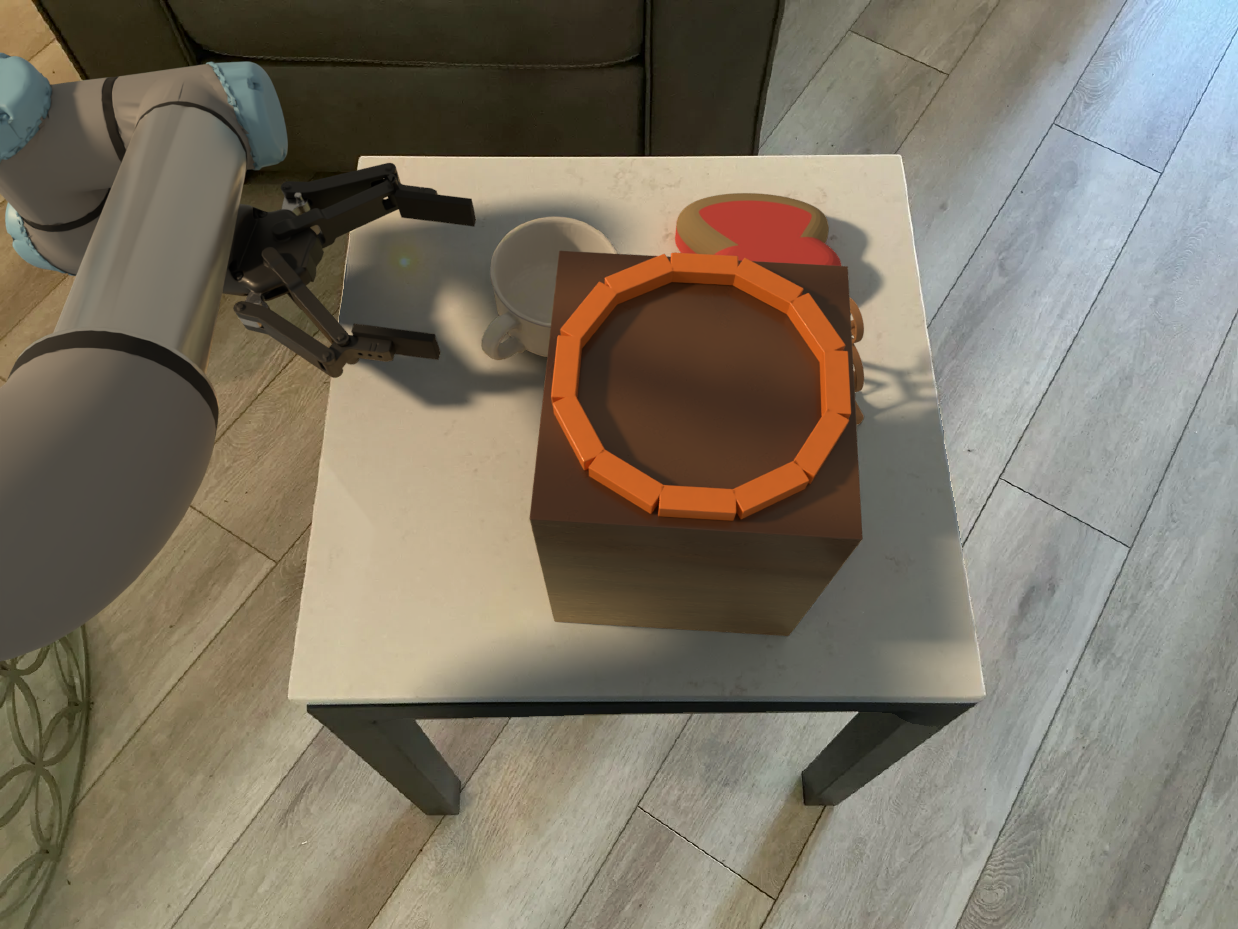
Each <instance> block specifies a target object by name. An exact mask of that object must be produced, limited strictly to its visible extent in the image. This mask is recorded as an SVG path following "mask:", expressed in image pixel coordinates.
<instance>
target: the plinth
mask: <svg viewBox="0 0 1238 929" xmlns="http://www.w3.org/2000/svg"><path fill="white" fill-rule="evenodd" d="M657 256H658V255H646V254H629V253H618V254H612V253H594V252H575V251H559V256H558V266H557V275H556V284H555V293H554V302H553V311H552V320H551V329H550V338H549V347H548V356H547V357H546V366H545V375H544V384H543V385H544V386H543V393H542V401H541V409H540V410H541V411H540V420H539V428H538V438H537V447H536V455H535V465H534V472H533V473H534V474H533V482H532V483H533V484H532V492H531V501H530V508H529V521H530V527H531V531H532V535H533V539H534V540H533V541H534V543H535V547H536V552H537V556H538V560H539V565H540V568H541V572H542V576H543V581H544V585H545V590H546V593H547V597H548V601H549V605H550V610H551V614H552V619H553V622H557V623H571V624H573V623H574V624H590V625H591V624H592V625H604V626H605V625H606V626H620V627H621V626H622V627H637V628H650V629H651V628H652V629H669V630H685V631H700V632H716V633H729V634H730V633H732V634H747V635H749V634H750V635H762V636H763V635H764V636H777V637H778V636H781V637H789V636H790V635H791V634H792V633H793V631H795V629H796V627H797V626H798V625H799V623H800V622H801V621H802V619H803V618H804V617H805V616H806V614H807V613H808V612H809V611H810V609H811V608H812V606H814V604H815V603H816V601H817V600H818V598H819V597H820V596H821V595H822V593H823V592H824V591H825V589H826V588H827V587H828V585H829V584H830V583H831V582H832V580H833V579H834V578H835V577H836V575H837V574H838V572H839V571H840V570H841V568H842V567H843V565H845V563H846V562H847V561H848V559H849V558H850V556H851V555H852V554H853V553H854V552H855V550H856V549H857V547H858V546H859V545H860V543H861V542H862V541H863V539H864V538H863V537H864V536H863V517H862V502H861V501H862V500H861V498H862V497H861V483H860V481H861V480H860V463H859V445H858V443H859V442H858V428H857V427H858V425H856V406H855V401H856V392H855V388H854V371H855V369H854V365H853V351H852V338H853V336H852V333H851V320H852V318H851V317H852V314H850V298H851V297H850V281H849V279H850V278H849V266H848V265H841V266H833V265H815V264H797V263H778V262H760V261H752V262H754V263H756V264H758V265H760V266H762V267H764V268H765V269H767V270H769V271H771V272H773V273H775V274H777V275H779V276H781V277H783V278H785V279H786V280H788V281H790V282H792V283H794V284H796V285H798V286H800V287H802V288H803V293H802V296H803V295H805V294H807V293H809V294H810V295H811V297H812V298H813V300H814V301H815V302H816V304H817V305H818V307H819V308H820V309H821V311H822V312H823V314H824V315H825V317H826V318H827V319H828V321H829V322H830V324H831V325H832V327H833V328H834V329H835V331H836V332H837V334H838V335H839V337H840V338H841V339H842V341H843V342H844V344H845V348H844V350H843V351H848V362H849V381H850V400H851V415H850V417H849V422H848V424H847V426H846V428H845V430H844V431H843V433H842V435H841V436H840V438H839V439H838V441H837V443H836V444H835V446H834V447H833V449H832V451H831V452H830V454H829V455H828V457H827V459H826V460H825V462H824V463H823V465H822V467H821V468H820V470H819V472H818V473H817V475H816V476H815V478H814V480H813V481H812V483H811V484H809V483H808V484H807V486H806V488H805V489H804V490H802V491H800V492H798V493H795V494H793V495H791V496H789V497H787V498H785V499H783V500H781V501H779V502H777V503H775V504H772V505H770V506H768V507H766V508H764V509H762V510H760V511H758V512H756V513H754V514H752V515H749V516H747V517H745V518H743V519H740V518H739V516H738V514H737V512H736V515H735V518H734V520H733V521H728V520H712V519H695V518H678V517H662V516H658V507H659V504H658V505H657V507H656V508H655V510H654V511H653V512H652V514H650V513H648V512H647V511H645V510H643V509H642V508H640V507H639V506H637V505H635V504H634V503H632V502H630V501H629V500H627V499H626V498H624V497H622V496H621V495H619V494H618V493H616V492H614V491H613V490H611V489H609V488H608V487H606V486H605V485H603V484H601V483H600V482H598V481H596V480H595V479H593V478H592V477H590V476H589V469H587V470H584V469H583V468H582V466H581V464H580V462H579V460H578V458H577V456H576V454H575V452H574V450H573V449H572V447H571V445H570V443H569V441H568V439H567V437H566V435H565V433H564V431H563V430H562V428H561V426H560V424H559V422H558V420H557V418H556V416H555V414H554V411H553V405H552V399H551V392H552V383H553V373H554V364H555V355H556V345H557V337H558V335H561V332H560V329H561V328H562V327H563V325H564V324H565V323H566V322H567V320H568V319H569V318H570V317H571V316H572V314H573V313H574V312H575V311H576V309H577V308H578V307H579V306H580V304H581V303H582V302H583V301H584V300H585V298H586V297H587V296H588V295H589V293H590V292H591V291H592V290H593V289H594V287H595V286H596V285H597V284H598V282H601V283H603V284H605V277H608V276H610V275H613V274H615V273H618V272H620V271H622V270H625V269H627V268H630V267H632V266H635V265H637V264H640V263H642V262H645V261H647V260H650V259H652V258H655V257H657ZM666 256H667V255H666ZM667 258H668V260H669V261H670V258H671V256H667ZM741 262H742V261H741V260H738V266H739V265H740V263H741ZM577 399H578V401H579V402H580V404H581V406H582V408H583V410H584V412H585V413H586V415H587V417H588V419H589V421H590V423H591V425H592V426H593V428H594V430H595V432H596V434H597V436H598V437H599V439H600V441H601V443H602V445H603V447H604V448H605V450H606V451H608V452H610V453H611V454H613V455H615V456H616V457H618V458H620V459H621V460H623V461H625V462H626V463H628V464H630V465H631V466H633V467H635V468H636V469H638V470H640V471H641V472H643V473H645V474H646V475H648V476H649V477H651V478H653V479H654V480H656V481H658V482H659V483H661V484H663V485H671V486H688V487H705V488H722V489H735V488H737V487H739V486H741V485H743V484H745V483H747V482H749V481H752V480H754V479H756V478H758V477H760V476H762V475H764V474H766V473H769V472H771V471H773V470H775V469H777V468H779V467H781V466H784V465H786V464H788V463H790V462H792V461H794V459H795V458H796V456H797V454H798V453H799V451H800V450H801V448H802V447H803V445H804V444H805V442H806V440H807V439H808V437H809V436H810V434H811V433H812V431H813V430H814V428H815V426H816V425H817V423H818V422H819V420H820V419H821V417H822V413H821V386H820V362H819V361H818V359H817V358H816V356H815V355H814V353H813V352H812V350H811V349H810V348H809V346H808V345H807V343H806V342H805V340H804V339H803V337H802V336H801V334H800V333H799V331H798V330H797V328H796V327H795V326H794V324H793V323H792V321H791V320H790V318H789V317H788V315H787V314H785V313H783V312H782V311H780V310H778V309H776V308H774V307H772V306H770V305H768V304H767V303H765V302H763V301H761V300H759V299H757V298H755V297H753V296H752V295H750V294H748V293H746V292H744V291H742V290H740V289H738V288H737V287H735V286H733V285H716V284H698V283H680V282H671V283H669V284H666V285H664V286H661V287H659V288H656V289H654V290H652V291H649V292H647V293H644V294H642V295H639V296H637V297H635V298H632V299H630V300H627V301H625V302H622V303H620V304H618V305H616V307H615V308H614V309H613V310H612V312H611V313H610V314H609V315H608V317H607V318H606V319H605V320H604V322H603V323H602V324H601V326H600V327H599V328H598V329H597V331H596V332H595V333H594V334H593V336H592V337H591V338H590V339H589V341H588V342H587V343H586V344H585V346H584V347H583V348H582V353H581V364H580V374H579V385H578V396H577Z"/></svg>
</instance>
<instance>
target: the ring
mask: <svg viewBox="0 0 1238 929" xmlns="http://www.w3.org/2000/svg"><path fill="white" fill-rule="evenodd" d="M656 256H657V257H655V258H652V259H650V260H647V261H645V262H642V263H640V264H637V265H635V266H632V267H630V268H627V269H625V270H622V271H620V272H618V273H615V274H613V275H610V276H608V277H605V284H603V283H601V282H598V284H597V285H596V286H595V287H594V289H593V290H592V291H591V292H590V293H589V295H588V296H587V297H586V298H585V300H584V301H583V302H582V303H581V304H580V306H579V307H578V308H577V309H576V311H575V312H574V313H573V314H572V316H571V317H570V318H569V319H568V320H567V322H566V323H565V324H564V325H563V327H562V328H561V329H560V332H561V335H558V337H557V345H556V355H555V364H554V373H553V383H552V392H551V399H552V405H553V411H554V414H555V416H556V418H557V420H558V422H559V424H560V426H561V428H562V430H563V431H564V433H565V435H566V437H567V439H568V441H569V443H570V445H571V447H572V449H573V450H574V452H575V454H576V456H577V458H578V460H579V462H580V464H581V466H582V468H583V469H584V470H587V469H589V476H590V477H592V478H593V479H595V480H596V481H598V482H600V483H601V484H603V485H605V486H606V487H608V488H609V489H611V490H613V491H614V492H616V493H618V494H619V495H621V496H622V497H624V498H626V499H627V500H629V501H630V502H632V503H634V504H635V505H637V506H639V507H640V508H642V509H643V510H645V511H647V512H648V513H650V514H652V512H653V511H654V510H655V508H656V507H657V505H658V504H659V507H658V516H662V517H678V518H695V519H712V520H728V521H733V520H734V518H735V515H736V512H737V514H738V516H739V518H740V519H743V518H745V517H747V516H749V515H752V514H754V513H756V512H758V511H760V510H762V509H764V508H766V507H768V506H770V505H772V504H775V503H777V502H779V501H781V500H783V499H785V498H787V497H789V496H791V495H793V494H795V493H798V492H800V491H802V490H804V489H805V488H806V486H807V484H808V483H809V484H811V483H812V481H813V480H814V478H815V476H816V475H817V473H818V472H819V470H820V468H821V467H822V465H823V463H824V462H825V460H826V459H827V457H828V455H829V454H830V452H831V451H832V449H833V447H834V446H835V444H836V443H837V441H838V439H839V438H840V436H841V435H842V433H843V431H844V430H845V428H846V426H847V424H848V422H849V417H850V415H851V400H850V381H849V362H848V351H843V350H844V348H845V344H844V342H843V341H842V339H841V338H840V337H839V335H838V334H837V332H836V331H835V329H834V328H833V327H832V325H831V324H830V322H829V321H828V319H827V318H826V317H825V315H824V314H823V312H822V311H821V309H820V308H819V307H818V305H817V304H816V302H815V301H814V300H813V298H812V297H811V295H810V294H809V293H807V294H805V295H803V296H802V293H803V288H802V287H800V286H798V285H796V284H794V283H792V282H790V281H788V280H786V279H785V278H783V277H781V276H779V275H777V274H775V273H773V272H771V271H769V270H767V269H765V268H764V267H762V266H760V265H758V264H756V263H754V262H752V261H750V260H748V259H746V258H744V259H743V261H742V262H741V263H740V265H739V266H738V256H728V255H709V254H691V253H681V252H671V253H670V257H671V258H670V261H669V260H668V258H667V254H666V253H662V254H659V255H656ZM671 282H680V283H698V284H716V285H733V286H735V287H737V288H738V289H740V290H742V291H744V292H746V293H748V294H750V295H752V296H753V297H755V298H757V299H759V300H761V301H763V302H765V303H767V304H768V305H770V306H772V307H774V308H776V309H778V310H780V311H782V312H783V313H785V314H787V315H788V317H789V318H790V320H791V321H792V323H793V324H794V326H795V327H796V328H797V330H798V331H799V333H800V334H801V336H802V337H803V339H804V340H805V342H806V343H807V345H808V346H809V348H810V349H811V350H812V352H813V353H814V355H815V356H816V358H817V359H818V361H819V362H820V386H821V413H822V417H821V419H820V420H819V422H818V423H817V425H816V426H815V428H814V430H813V431H812V433H811V434H810V436H809V437H808V439H807V440H806V442H805V444H804V445H803V447H802V448H801V450H800V451H799V453H798V454H797V456H796V458H795V459H794V461H792V462H790V463H788V464H786V465H784V466H781V467H779V468H777V469H775V470H773V471H771V472H769V473H766V474H764V475H762V476H760V477H758V478H756V479H754V480H752V481H749V482H747V483H745V484H743V485H741V486H739V487H737V488H735V489H722V488H705V487H688V486H671V485H663V484H661V483H659V482H658V481H656V480H654V479H653V478H651V477H649V476H648V475H646V474H645V473H643V472H641V471H640V470H638V469H636V468H635V467H633V466H631V465H630V464H628V463H626V462H625V461H623V460H621V459H620V458H618V457H616V456H615V455H613V454H611V453H610V452H608V451H606V450H605V448H604V447H603V445H602V443H601V441H600V439H599V437H598V436H597V434H596V432H595V430H594V428H593V426H592V425H591V423H590V421H589V419H588V417H587V415H586V413H585V412H584V410H583V408H582V406H581V404H580V402H579V401H578V399H577V396H578V385H579V374H580V364H581V353H582V348H583V347H584V346H585V344H586V343H587V342H588V341H589V339H590V338H591V337H592V336H593V334H594V333H595V332H596V331H597V329H598V328H599V327H600V326H601V324H602V323H603V322H604V320H605V319H606V318H607V317H608V315H609V314H610V313H611V312H612V310H613V309H614V308H615V307H616V305H618V304H620V303H622V302H625V301H627V300H630V299H632V298H635V297H637V296H639V295H642V294H644V293H647V292H649V291H652V290H654V289H656V288H659V287H661V286H664V285H666V284H669V283H671Z"/></svg>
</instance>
